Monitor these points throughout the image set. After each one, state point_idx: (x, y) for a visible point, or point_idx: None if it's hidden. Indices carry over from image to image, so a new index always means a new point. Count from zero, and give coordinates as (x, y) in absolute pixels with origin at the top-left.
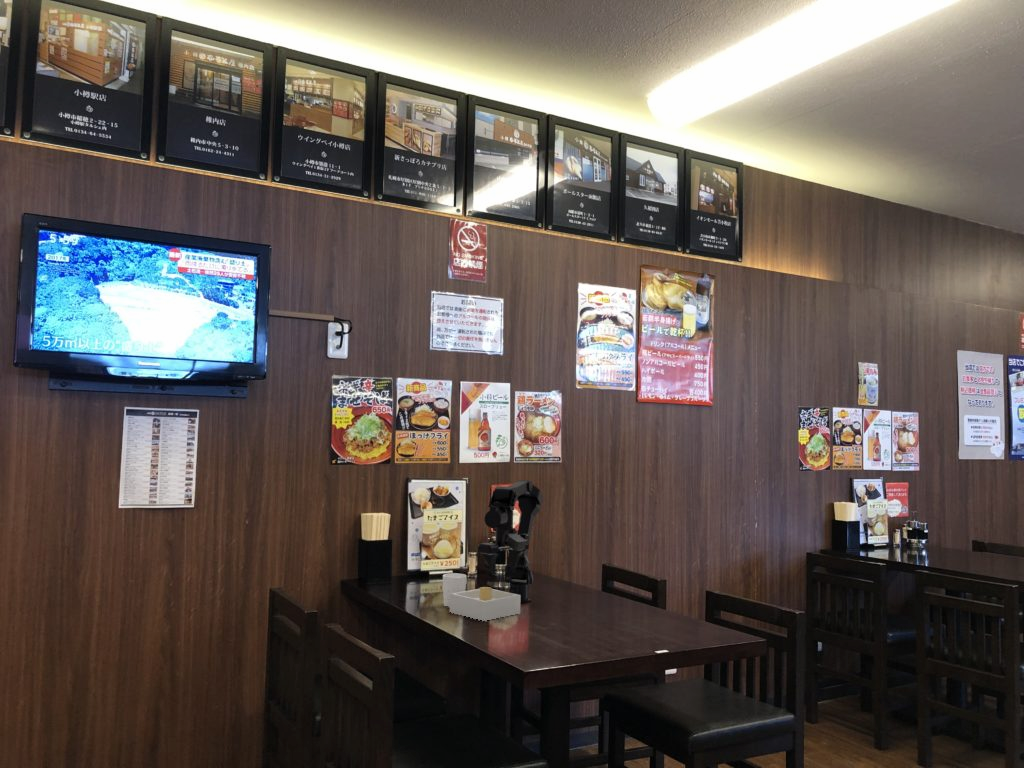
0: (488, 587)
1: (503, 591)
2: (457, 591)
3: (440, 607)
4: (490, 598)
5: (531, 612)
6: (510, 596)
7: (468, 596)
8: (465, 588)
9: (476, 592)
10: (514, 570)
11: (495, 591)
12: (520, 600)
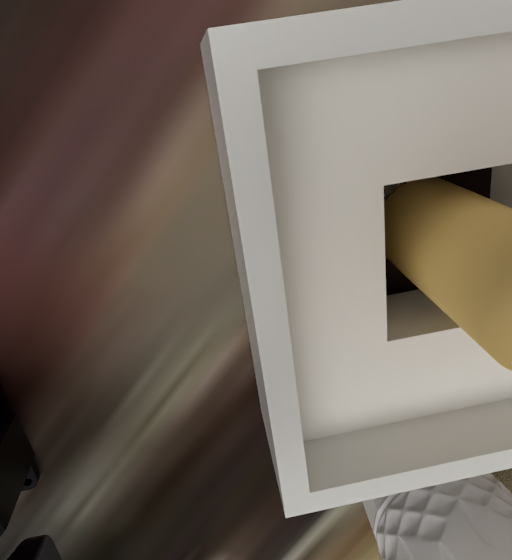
0: (504, 328)
1: (259, 319)
2: (510, 516)
3: (505, 471)
4: (484, 214)
5: (57, 43)
6: (382, 30)
7: (490, 417)
8: (425, 553)
9: (415, 451)
10: (23, 549)
11: (294, 386)
12: (205, 34)
